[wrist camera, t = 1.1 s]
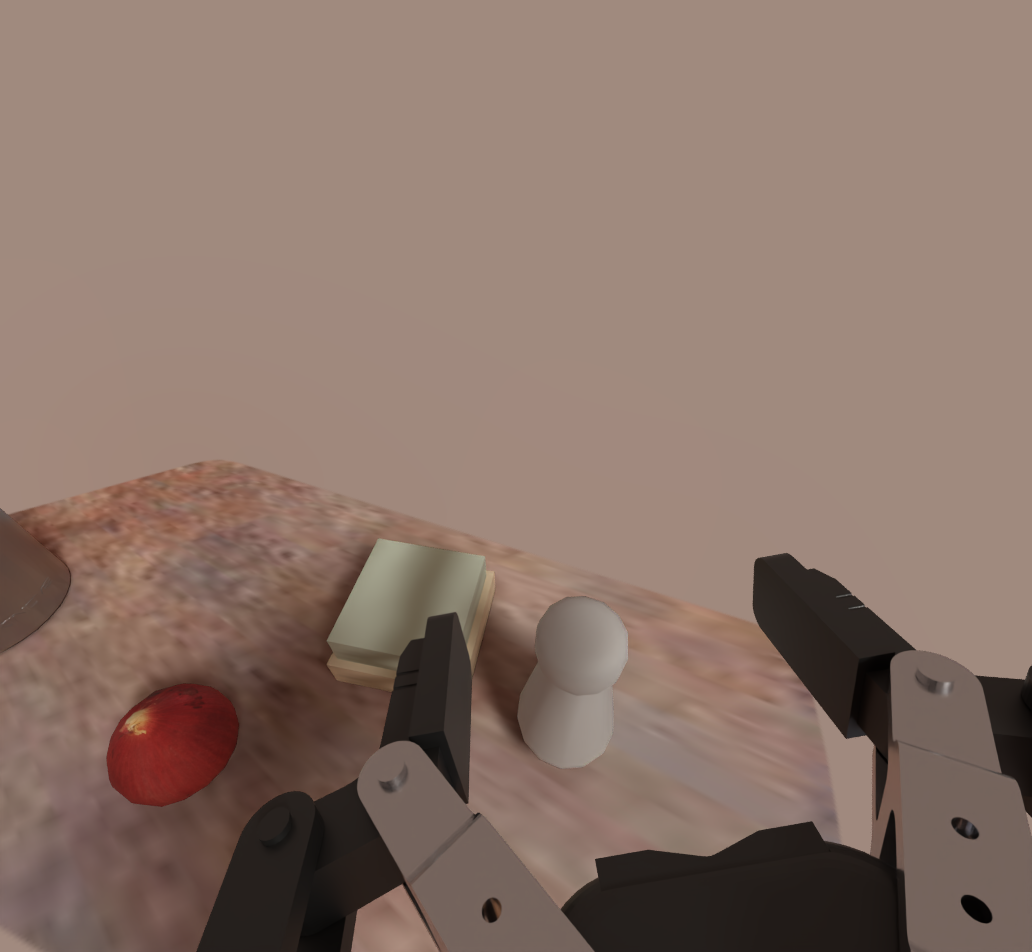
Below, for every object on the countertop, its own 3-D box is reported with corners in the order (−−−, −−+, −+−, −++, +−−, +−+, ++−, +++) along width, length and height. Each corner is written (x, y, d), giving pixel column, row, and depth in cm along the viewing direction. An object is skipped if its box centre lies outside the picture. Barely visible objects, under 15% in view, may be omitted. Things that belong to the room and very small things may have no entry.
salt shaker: (524, 674, 33) (529, 566, 23) (608, 687, 32) (647, 581, 23) (510, 770, 29) (510, 684, 19) (606, 787, 28) (652, 707, 19)
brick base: (336, 680, 32) (315, 647, 29) (387, 570, 39) (374, 532, 35) (464, 707, 31) (458, 676, 28) (495, 589, 37) (493, 551, 34)
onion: (165, 725, 30) (85, 673, 25) (261, 698, 31) (206, 643, 26) (143, 833, 26) (41, 802, 21) (254, 798, 28) (187, 759, 22)
